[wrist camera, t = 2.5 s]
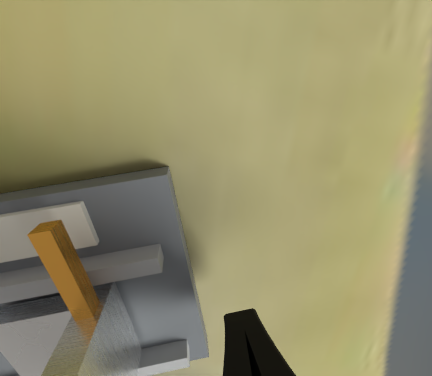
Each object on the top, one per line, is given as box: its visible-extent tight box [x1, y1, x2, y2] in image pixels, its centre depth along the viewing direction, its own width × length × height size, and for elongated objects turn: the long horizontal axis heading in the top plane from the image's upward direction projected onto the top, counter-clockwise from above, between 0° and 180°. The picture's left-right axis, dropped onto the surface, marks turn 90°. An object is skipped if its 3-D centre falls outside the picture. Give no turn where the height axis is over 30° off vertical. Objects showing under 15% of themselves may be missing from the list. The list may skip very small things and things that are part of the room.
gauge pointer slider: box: [0, 220, 142, 376], centre depth 8 cm, size 9×5×5 cm, turn 7°
